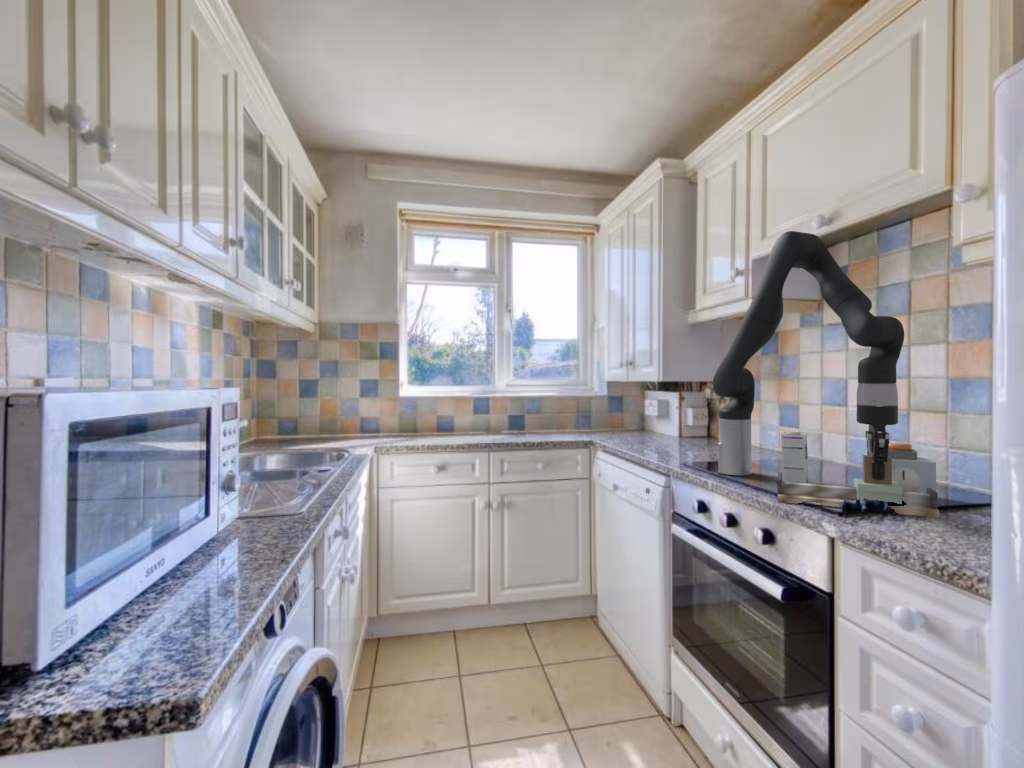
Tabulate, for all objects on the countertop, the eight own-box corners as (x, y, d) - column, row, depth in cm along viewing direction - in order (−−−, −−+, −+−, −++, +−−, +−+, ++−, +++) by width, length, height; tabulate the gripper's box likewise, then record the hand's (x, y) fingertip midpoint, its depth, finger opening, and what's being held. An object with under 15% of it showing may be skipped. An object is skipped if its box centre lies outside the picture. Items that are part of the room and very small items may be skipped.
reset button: (887, 456, 116) (887, 444, 116) (883, 453, 120) (883, 442, 120) (913, 458, 114) (913, 446, 114) (909, 454, 118) (909, 443, 118)
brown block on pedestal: (857, 501, 108) (857, 457, 108) (853, 494, 114) (853, 453, 114) (902, 505, 104) (902, 460, 104) (896, 498, 110) (895, 455, 110)
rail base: (777, 501, 115) (777, 481, 115) (778, 494, 122) (777, 475, 122) (939, 517, 100) (939, 494, 100) (929, 508, 107) (929, 486, 107)
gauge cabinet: (872, 500, 115) (872, 451, 115) (865, 490, 125) (865, 445, 124) (937, 506, 109) (936, 454, 109) (924, 495, 119) (924, 447, 118)
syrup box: (806, 488, 128) (805, 434, 128) (781, 485, 132) (780, 433, 132) (808, 484, 133) (808, 432, 133) (784, 481, 137) (783, 431, 136)
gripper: (852, 401, 116) (853, 471, 117) (860, 404, 104) (861, 482, 105) (891, 401, 113) (891, 473, 113) (904, 405, 101) (904, 486, 101)
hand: (877, 477), depth 109 cm, fingers closed on brown block on pedestal, 2 cm apart
